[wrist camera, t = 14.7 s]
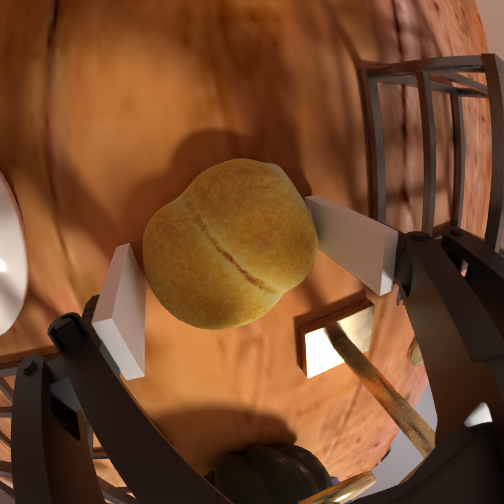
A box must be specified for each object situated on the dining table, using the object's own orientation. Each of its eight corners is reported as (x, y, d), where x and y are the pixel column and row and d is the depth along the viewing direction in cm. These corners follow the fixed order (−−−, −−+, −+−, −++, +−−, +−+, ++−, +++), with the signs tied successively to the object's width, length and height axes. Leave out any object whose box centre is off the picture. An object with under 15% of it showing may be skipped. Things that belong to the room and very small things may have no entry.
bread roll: (115, 248, 13) (103, 284, 10) (245, 133, 13) (275, 130, 10) (215, 334, 17) (230, 378, 14) (322, 243, 17) (361, 269, 14)
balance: (234, 395, 20) (319, 577, 6) (219, 353, 18) (324, 588, 3) (407, 318, 24) (521, 418, 9) (415, 274, 22) (554, 377, 7)
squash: (167, 518, 19) (274, 576, 13) (187, 476, 16) (348, 552, 10) (228, 460, 32) (315, 505, 26) (264, 398, 28) (376, 452, 22)
